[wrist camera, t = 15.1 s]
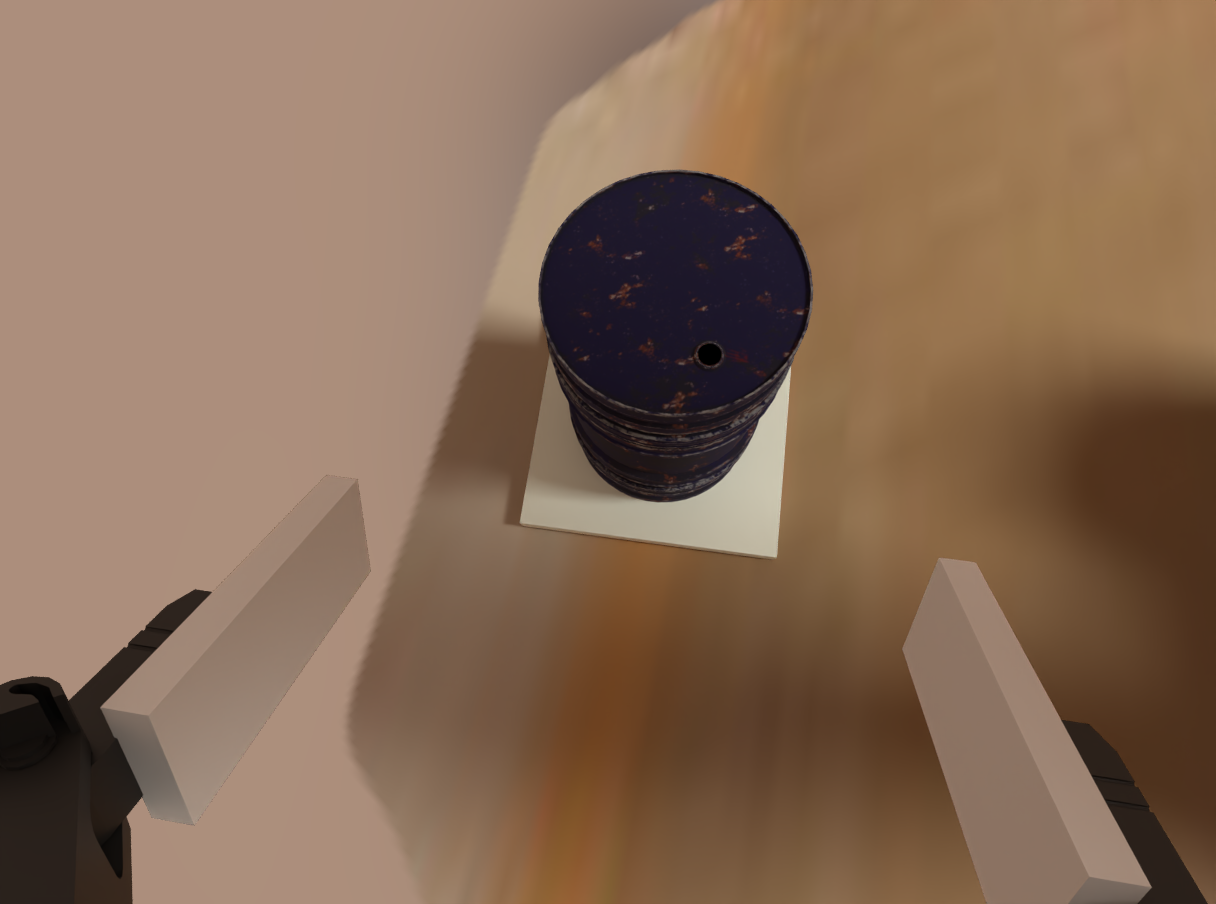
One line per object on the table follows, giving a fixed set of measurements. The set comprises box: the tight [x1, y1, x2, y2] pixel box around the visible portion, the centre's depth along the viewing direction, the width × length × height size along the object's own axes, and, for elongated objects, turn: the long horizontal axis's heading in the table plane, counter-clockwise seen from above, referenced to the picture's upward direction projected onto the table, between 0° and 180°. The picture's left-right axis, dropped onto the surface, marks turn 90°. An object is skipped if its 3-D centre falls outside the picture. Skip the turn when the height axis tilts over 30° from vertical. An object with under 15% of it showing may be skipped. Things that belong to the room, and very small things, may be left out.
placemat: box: [520, 355, 791, 560], centre depth 38 cm, size 14×14×1 cm
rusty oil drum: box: [538, 170, 813, 503], centre depth 31 cm, size 10×10×15 cm
